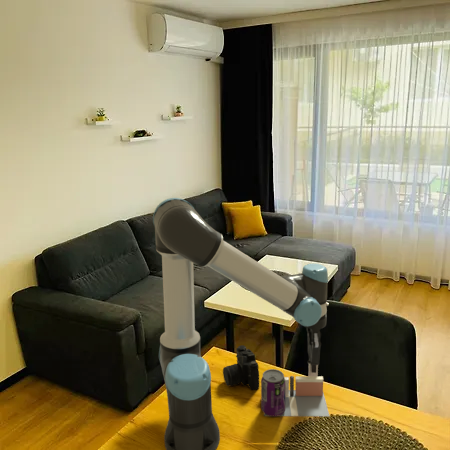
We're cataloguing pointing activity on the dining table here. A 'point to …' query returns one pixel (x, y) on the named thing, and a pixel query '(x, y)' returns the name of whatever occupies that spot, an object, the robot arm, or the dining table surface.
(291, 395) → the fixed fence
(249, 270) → the robot arm
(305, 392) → the cream pink flat block
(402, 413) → the dining table surface
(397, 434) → the dining table surface
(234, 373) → the camera
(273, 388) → the beverage can
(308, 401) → the mat
